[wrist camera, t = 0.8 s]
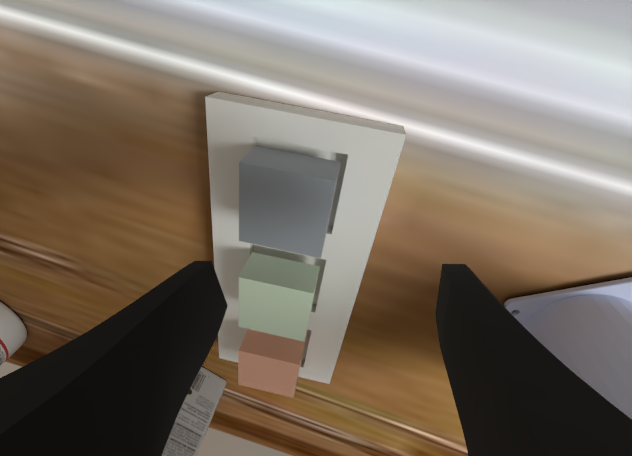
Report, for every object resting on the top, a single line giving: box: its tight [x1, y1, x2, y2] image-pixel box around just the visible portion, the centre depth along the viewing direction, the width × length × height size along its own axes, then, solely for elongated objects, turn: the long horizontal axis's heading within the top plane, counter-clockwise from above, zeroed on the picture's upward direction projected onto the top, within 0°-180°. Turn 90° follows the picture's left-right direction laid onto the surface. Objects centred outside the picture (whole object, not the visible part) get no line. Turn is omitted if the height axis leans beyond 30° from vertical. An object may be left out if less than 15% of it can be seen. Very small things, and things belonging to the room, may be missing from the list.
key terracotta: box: [238, 329, 306, 398], centre depth 24 cm, size 4×4×2 cm
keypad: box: [205, 92, 406, 384], centre depth 22 cm, size 22×10×2 cm, turn 172°
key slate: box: [239, 145, 341, 258], centre depth 16 cm, size 4×4×2 cm
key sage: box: [238, 252, 320, 342], centre depth 20 cm, size 4×4×2 cm
